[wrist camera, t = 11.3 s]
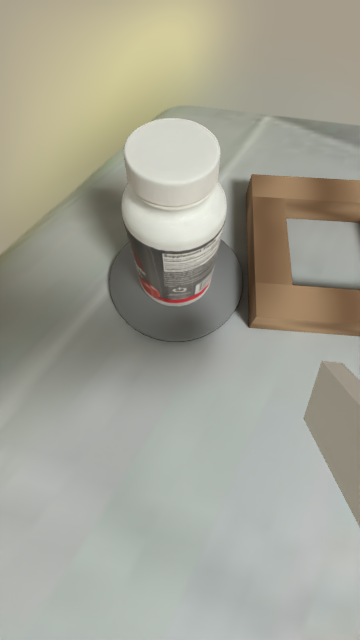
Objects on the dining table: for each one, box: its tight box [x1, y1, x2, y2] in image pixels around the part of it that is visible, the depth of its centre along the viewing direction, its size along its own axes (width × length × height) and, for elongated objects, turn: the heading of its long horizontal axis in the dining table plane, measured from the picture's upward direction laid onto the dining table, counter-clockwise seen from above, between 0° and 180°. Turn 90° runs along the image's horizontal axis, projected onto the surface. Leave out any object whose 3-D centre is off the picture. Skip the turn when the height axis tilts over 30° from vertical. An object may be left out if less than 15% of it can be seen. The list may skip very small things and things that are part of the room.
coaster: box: [110, 240, 243, 342], centre depth 20 cm, size 10×10×1 cm
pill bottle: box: [121, 118, 227, 306], centre depth 15 cm, size 5×5×10 cm
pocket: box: [246, 174, 360, 336], centre depth 20 cm, size 13×13×2 cm
